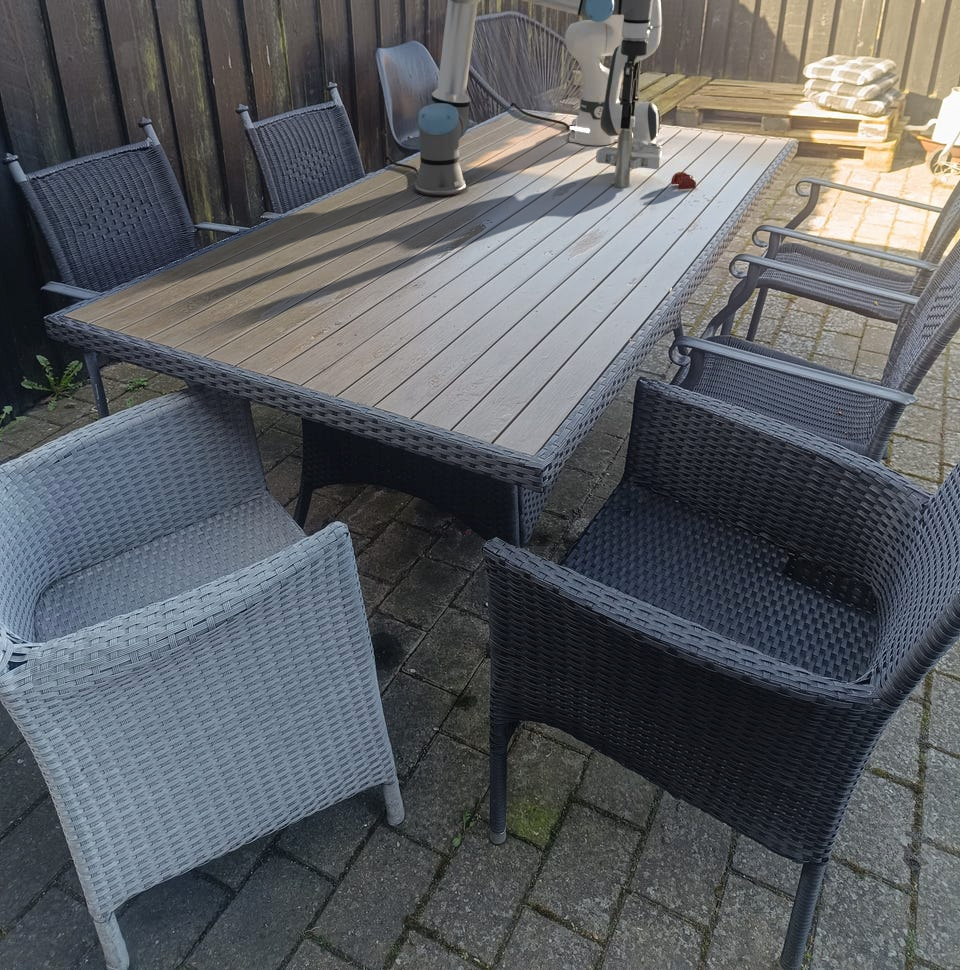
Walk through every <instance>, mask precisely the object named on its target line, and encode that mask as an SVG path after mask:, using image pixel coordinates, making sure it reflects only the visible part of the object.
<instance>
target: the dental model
mask: <svg viewBox="0 0 960 970" xmlns="http://www.w3.org/2000/svg"><path fill="white" fill-rule="evenodd" d="M670 184H671V185H677V190H689V189H696V187H697V182H696V180H695V178H694V175H691V174H688V173H687V172H685V171H678V172H676V173H673V176H672V177H671V182H670Z"/></svg>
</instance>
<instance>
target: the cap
mask: <svg viewBox="0 0 960 970" xmlns="http://www.w3.org/2000/svg"><path fill="white" fill-rule="evenodd" d="M634 125H635V117H634V116H631V122H630V128H632V127H634ZM620 127H621V117H620Z"/></svg>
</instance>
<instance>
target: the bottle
mask: <svg viewBox="0 0 960 970" xmlns="http://www.w3.org/2000/svg"><path fill="white" fill-rule="evenodd" d="M616 146H617V147H616V148H617V156H616V166H614V167H615V168H614V178H613V186H614V187H616V188H623V189H624V188H628V187H629V186H630V177H631V169H630V162H631V158H632V148H633V133H632V128H630V129H624V128H621V131H620V134H619V135H618V142H617V145H616Z"/></svg>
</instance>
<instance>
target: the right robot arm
mask: <svg viewBox="0 0 960 970" xmlns="http://www.w3.org/2000/svg"><path fill="white" fill-rule="evenodd" d="M662 19H663V18H662V2H661V0H653V3H652V12H651V20H650V25H649V26H651V27H652V29H651V30H649V37H648V38H647V39H646V40H648V51H647V54H646V55H644V56H640V61H641V62H642V61H644V60H646V59H647V58H649V57H651V56H652V55H653V54H654V53H655V52H656V51H657V50H658V48H659V45H660V43H661V37H662V25H663V24H662V23H663V21H662ZM623 21H624V15H611V16H610V17H609V18H608V19H607V20H605V21H603V22H594V21H592V20H591V19H585V20H584V19H583V20H580V21H576V22H572V23H570V25H569V26H568V27H567V29H566V31H565V34H564V46H565V48H566V50H567V52H568V53H569V54H570V55H571V56H572V57H573V58H574V59H575V60H576V61H577V64H578V65H579V68H580V70H581V71H580V72H581V74H582V92H581V93H582V94H581V99H580V103H579V109H580V111H579V112H578V115H577V116H576V117H575V118H573V119H572V121H571V124H568V123H567V122H565V121H561V120H556V119H552V118H550V117H544V116H540V115H536V114H532V113H530V112H527V111H525V110H523V109H522V108H521V107H520V106H518V104H517V103H516V102H512V103H510V107H515V108H516V109H517V110H518V111H519V112H520V113H522V114H523V115H525V116H526V117H527V116H528V117H531V118H534V119H537V120H542V121H546V122H550V123H554V124H559V125H562V126H564V127H566V129H567V131H570V134H569V137H568V142H570V143H577V144H580V145H586V146H604V147H601V148H599V149H597V150H596V154H595V162H596V163H597V164H604V165H610V166H611V167H616V156H617V147H614V146H608V145H611V144H614V143H618V136H619V134H620V131H621V128H620V117H621V116H622V105H620V102H621V100H620V96H621V95H620V94H621V88H622V84H623V77H624V70H623V69H624V67H625V62H627V58H628V56H627V55H623V54H621V44H622V40H623V39H624V38H623V37H622V30H623ZM601 57H611V60H610V66H609V68H608V67H606V66H604V65H602V63H601ZM634 117H635V125H634V127H632V133H633V148H632V158H631V162H630V170H635V169H638V168H639V169H651V170H659V169H660V167H661V164H662V163H661V162H662V154H663V152H662V145H660V144H657V137H658V135H659V132H660V129H661V128H660V127H661V126H660V125H661V115H660V111H659V109H658V107H657V106H656V104H655V103H653V102H652V101H636V103H635V113H634ZM606 145H607V146H606Z"/></svg>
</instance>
